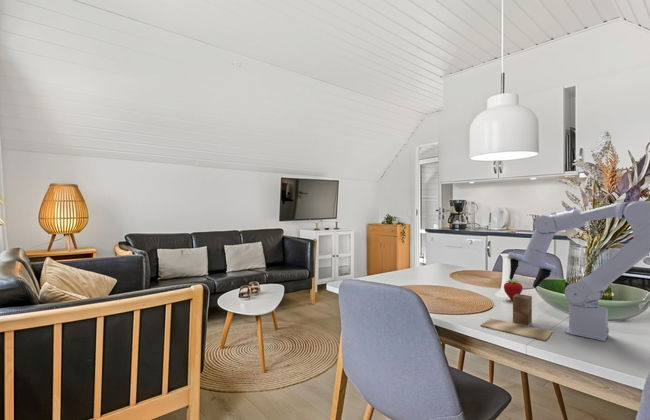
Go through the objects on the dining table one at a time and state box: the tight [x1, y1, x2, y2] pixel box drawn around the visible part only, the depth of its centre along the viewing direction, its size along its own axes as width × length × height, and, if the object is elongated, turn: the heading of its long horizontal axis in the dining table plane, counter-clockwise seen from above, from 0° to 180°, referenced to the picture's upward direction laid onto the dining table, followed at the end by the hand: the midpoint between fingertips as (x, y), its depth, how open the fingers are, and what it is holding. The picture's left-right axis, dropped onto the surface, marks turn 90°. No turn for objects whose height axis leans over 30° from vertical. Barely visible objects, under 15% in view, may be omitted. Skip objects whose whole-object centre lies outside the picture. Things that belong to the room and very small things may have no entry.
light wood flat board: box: [480, 317, 553, 342], centre depth 107 cm, size 18×9×1 cm, turn 46°
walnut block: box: [512, 293, 533, 327], centre depth 113 cm, size 4×4×9 cm
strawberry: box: [503, 279, 523, 301], centre depth 139 cm, size 6×8×10 cm
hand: (522, 282), depth 120 cm, fingers open, 7 cm apart
